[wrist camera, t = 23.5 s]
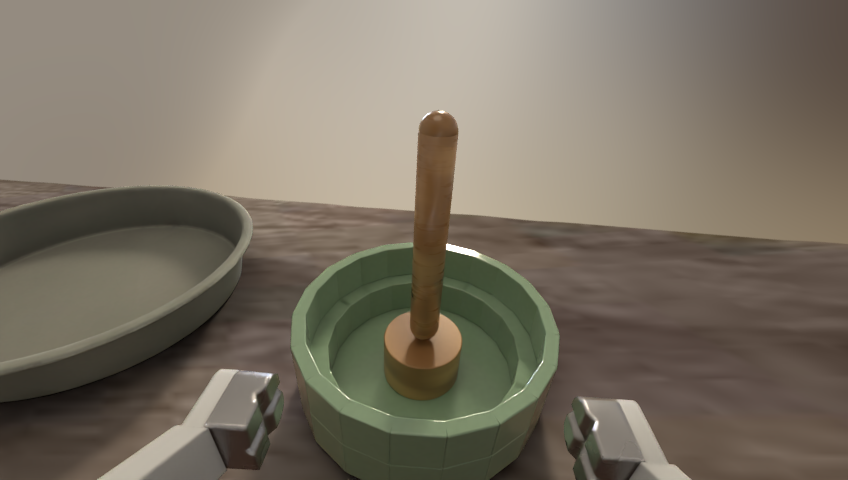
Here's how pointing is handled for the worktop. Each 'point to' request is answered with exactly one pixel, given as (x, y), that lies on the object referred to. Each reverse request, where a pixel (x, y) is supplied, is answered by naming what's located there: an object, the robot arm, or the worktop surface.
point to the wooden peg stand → (427, 275)
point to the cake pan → (110, 280)
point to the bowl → (422, 419)
